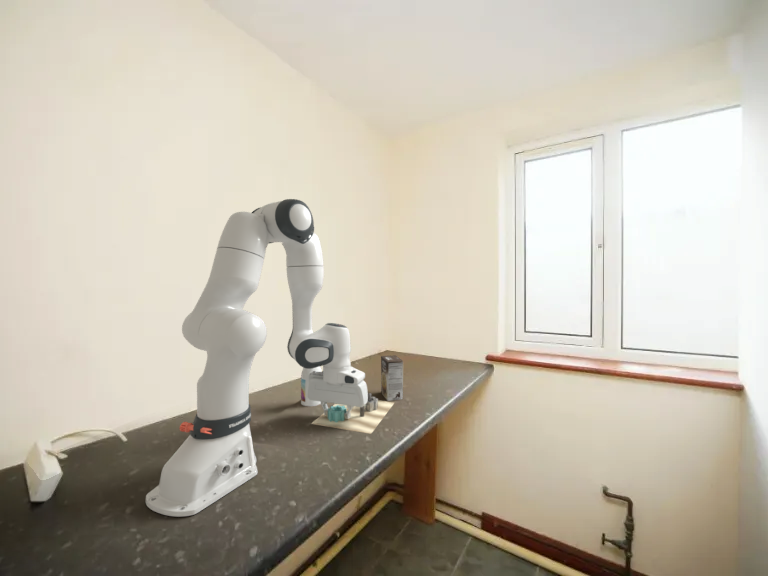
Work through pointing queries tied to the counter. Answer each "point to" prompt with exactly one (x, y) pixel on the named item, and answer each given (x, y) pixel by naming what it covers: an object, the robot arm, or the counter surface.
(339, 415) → the teal gear
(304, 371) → the milk bottle
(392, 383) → the coffee box
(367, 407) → the grey gear
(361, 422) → the peg board
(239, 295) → the robot arm
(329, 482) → the counter surface
